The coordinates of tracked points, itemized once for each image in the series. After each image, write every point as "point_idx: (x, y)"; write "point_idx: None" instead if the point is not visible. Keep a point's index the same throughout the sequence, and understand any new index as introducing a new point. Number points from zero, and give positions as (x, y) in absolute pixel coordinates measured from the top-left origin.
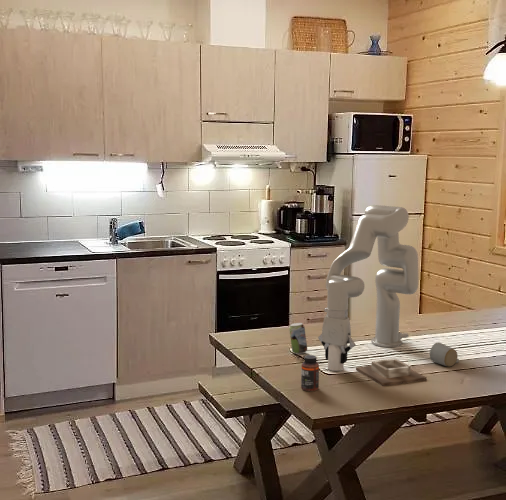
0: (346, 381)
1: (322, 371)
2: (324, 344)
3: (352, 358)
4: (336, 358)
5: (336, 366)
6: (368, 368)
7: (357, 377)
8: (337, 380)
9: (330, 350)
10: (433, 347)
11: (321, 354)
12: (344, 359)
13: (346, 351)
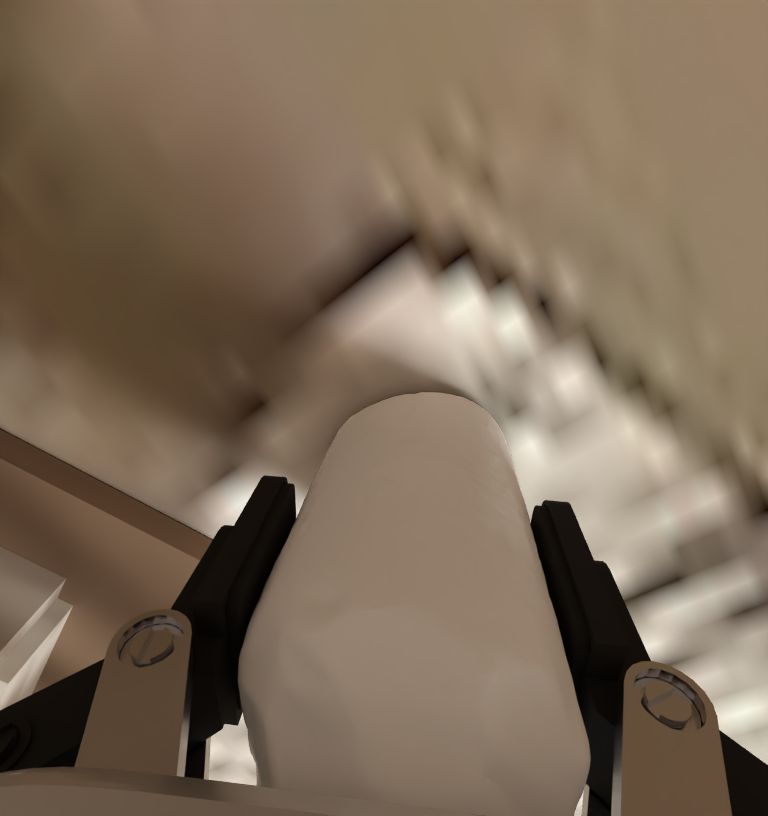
0: (31, 116)
1: (524, 303)
2: (747, 804)
3: None
4: (335, 500)
5: (354, 430)
6: (114, 599)
7: (63, 358)
8: (142, 61)
9: (469, 605)
10: None
11: None
12: (224, 539)
13: (99, 668)
